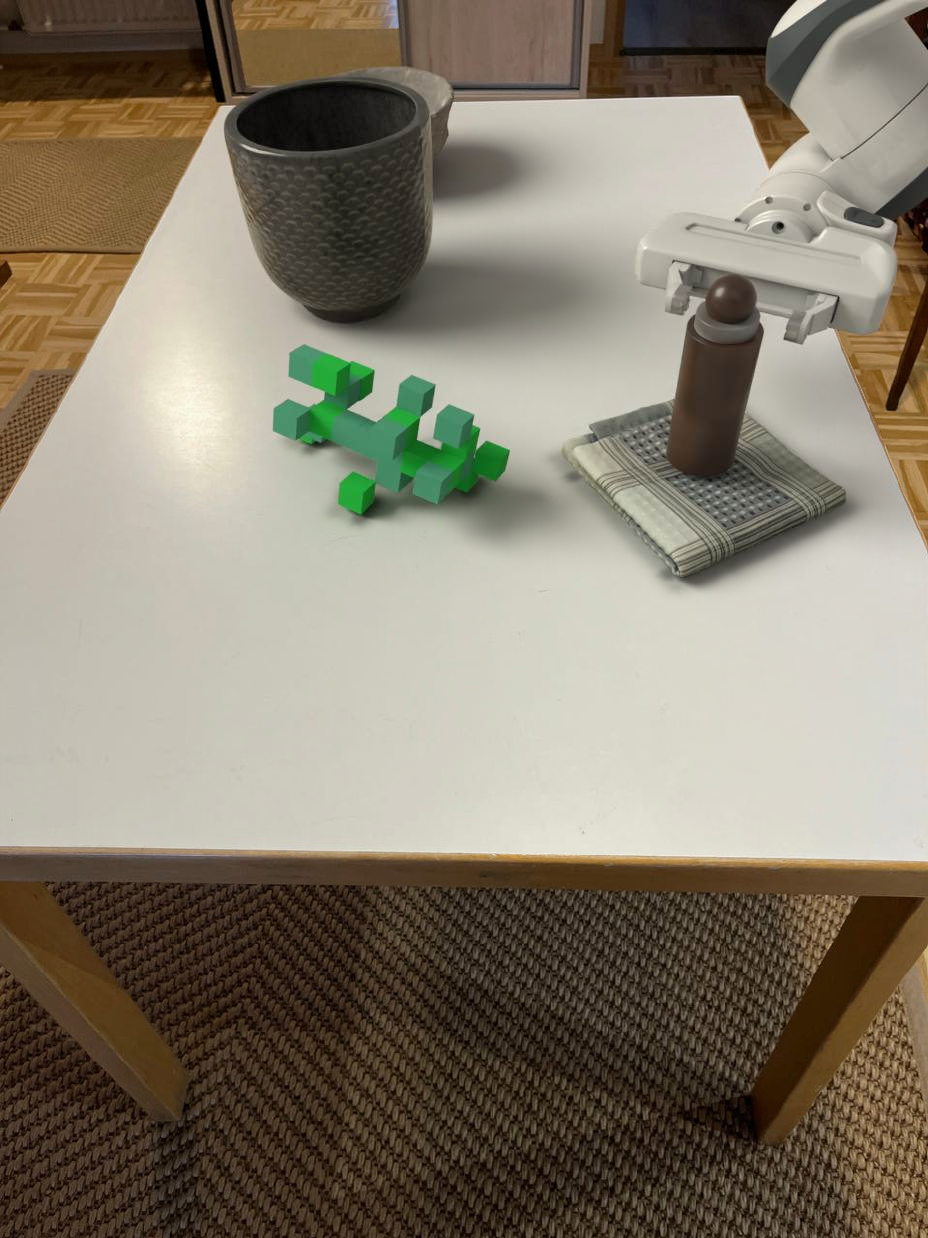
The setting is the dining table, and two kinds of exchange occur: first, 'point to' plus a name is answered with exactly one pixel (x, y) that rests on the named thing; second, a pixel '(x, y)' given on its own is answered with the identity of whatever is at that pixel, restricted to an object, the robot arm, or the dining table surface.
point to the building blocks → (386, 432)
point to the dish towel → (698, 489)
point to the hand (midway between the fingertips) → (732, 319)
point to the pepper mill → (715, 378)
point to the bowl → (427, 86)
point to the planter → (336, 189)
